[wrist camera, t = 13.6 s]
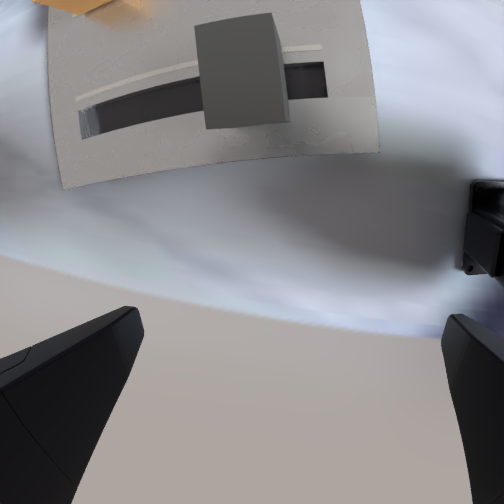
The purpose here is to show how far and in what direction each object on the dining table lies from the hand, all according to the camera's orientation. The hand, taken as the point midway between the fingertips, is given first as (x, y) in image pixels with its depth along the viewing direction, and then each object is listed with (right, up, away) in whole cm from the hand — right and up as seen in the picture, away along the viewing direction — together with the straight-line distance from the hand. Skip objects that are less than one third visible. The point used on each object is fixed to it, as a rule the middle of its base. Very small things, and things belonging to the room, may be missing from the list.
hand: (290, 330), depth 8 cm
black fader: (-1, +11, +7) cm, 13 cm away
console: (-5, +16, +7) cm, 18 cm away
